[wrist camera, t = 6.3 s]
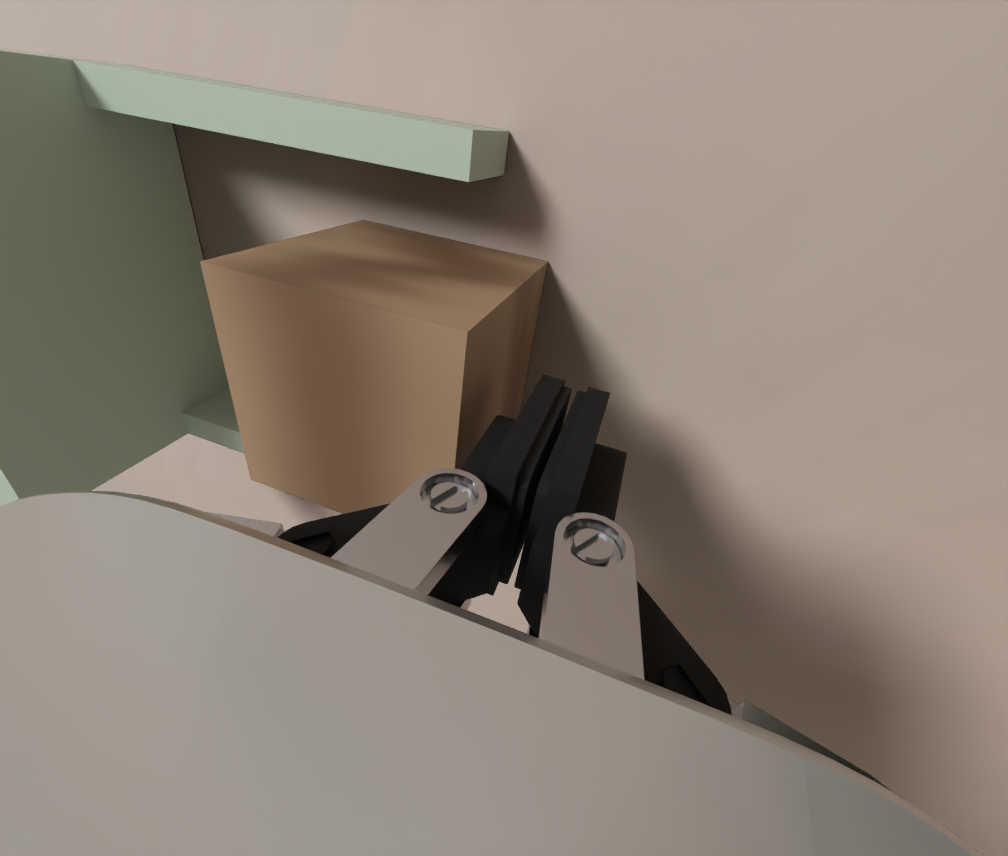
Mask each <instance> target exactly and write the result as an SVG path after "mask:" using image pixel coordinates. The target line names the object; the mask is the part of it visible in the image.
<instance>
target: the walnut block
mask: <svg viewBox="0 0 1008 856" xmlns="http://www.w3.org/2000/svg"><path fill="white" fill-rule="evenodd" d="M547 263H548V262H547V261H543V260H538V259H534V258H530V257H525V256H521V255H516V254H512V253H507V252H503V251H498V250H494V249H490V248H485V247H481V246H476V245H472V244H467V243H463V242H458V241H454V240H450V239H445V238H441V237H436V236H432V235H427V234H423V233H419V232H414V231H410V230H405V229H401V228H396V227H392V226H387V225H383V224H379V223H374V222H370V221H365V220H361V221H357V222H353V223H349V224H345V225H342V226H338V227H334V228H330V229H326V230H322V231H318V232H314V233H310V234H306V235H302V236H298V237H294V238H290V239H286V240H282V241H278V242H274V243H270V244H266V245H262V246H258V247H255V248H251V249H247V250H243V251H239V252H235V253H231V254H227V255H223V256H219V257H215V258H211V259H207V260H203V261H200V264H201V268H202V272H203V277H204V281H205V285H206V289H207V294H208V298H209V302H210V307H211V311H212V315H213V319H214V324H215V328H216V332H217V337H218V341H219V345H220V349H221V354H222V358H223V362H224V367H225V371H226V375H227V379H228V384H229V388H230V392H231V397H232V401H233V405H234V409H235V414H236V418H237V422H238V427H239V431H240V435H241V439H242V444H243V448H244V452H245V457H246V461H247V465H248V469H249V474H250V478H251V480H253V481H256V482H259V483H261V484H264V485H267V486H270V487H272V488H275V489H278V490H280V491H283V492H286V493H289V494H291V495H294V496H297V497H299V498H302V499H305V500H308V501H310V502H313V503H316V504H318V505H321V506H324V507H327V508H329V509H332V510H335V511H337V512H340V513H343V514H345V513H350V512H354V511H359V510H363V509H367V508H372V507H376V506H381V505H385V504H389V503H391V502H393V501H394V500H395V499H396V498H397V497H398V496H399V495H400V494H401V493H402V492H404V491H405V490H406V489H407V488H408V487H409V486H410V485H411V484H412V483H414V482H415V481H416V480H417V479H418V478H419V477H421V476H422V475H424V474H425V473H427V472H430V471H433V470H436V469H443V468H453V469H460V468H461V467H462V465H463V464H464V462H465V461H466V459H467V458H468V456H469V455H470V453H471V452H472V450H473V449H474V448H475V446H476V445H477V443H478V442H479V440H480V439H481V437H482V436H483V434H484V433H485V431H486V430H487V428H488V427H489V426H490V424H491V423H492V421H493V420H494V418H495V417H496V416H497V415H501V416H505V417H508V418H512V419H515V420H516V419H517V417H518V416H519V414H520V412H521V406H522V401H523V395H524V390H525V384H526V379H527V373H528V368H529V362H530V357H531V351H532V346H533V340H534V335H535V329H536V324H537V318H538V313H539V307H540V302H541V296H542V291H543V285H544V280H545V274H546V268H547Z"/></svg>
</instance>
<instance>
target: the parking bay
mask: <svg viewBox="0 0 1008 856" xmlns="http://www.w3.org/2000/svg"><path fill="white" fill-rule="evenodd" d="M172 123H173V124H178V125H183V126H189V127H194V128H199V129H204V130H209V131H214V132H219V133H224V134H229V135H234V136H239V137H244V138H249V139H254V140H259V141H264V142H269V143H274V144H279V145H284V146H289V147H294V148H299V149H304V150H309V151H314V152H319V153H324V154H329V155H334V156H339V157H345V158H350V159H355V160H360V161H365V162H370V163H375V164H380V165H385V166H390V167H395V168H400V169H405V170H410V171H415V172H420V173H425V174H430V175H435V176H440V177H445V178H450V179H455V180H460V181H465V182H472V181H477V180H482V179H487V178H492V177H497V176H502V175H504V171H505V162H506V154H507V145H508V137H509V131H504V130H499V129H493V128H487V127H481V126H475V125H470V124H464V123H458V122H452V121H447V120H441V119H435V118H429V117H423V116H418V115H412V114H406V113H400V112H394V111H389V110H383V109H377V108H371V107H365V106H360V105H354V104H348V103H342V102H336V101H331V100H325V99H319V98H313V97H308V96H302V95H296V94H290V93H284V92H279V91H273V90H267V89H261V88H255V87H250V86H244V85H238V84H232V83H226V82H221V81H215V80H209V79H203V78H198V77H192V76H186V75H180V74H174V73H169V72H163V71H157V70H151V69H145V68H140V67H134V66H128V65H122V64H115V63H107V62H99V61H92V60H84V59H76V58H68V57H61V56H53V55H45V54H38V53H30V52H22V51H15V50H7V49H0V506H2V505H5V504H7V503H10V502H13V501H16V500H18V499H21V498H25V497H29V496H34V495H38V494H44V493H53V492H64V491H91V490H93V489H95V488H96V487H98V486H100V485H102V484H103V483H105V482H107V481H108V480H110V479H112V478H113V477H115V476H117V475H118V474H120V473H122V472H124V471H125V470H127V469H129V468H130V467H132V466H134V465H135V464H137V463H139V462H140V461H142V460H144V459H146V458H147V457H149V456H151V455H152V454H154V453H156V452H157V451H159V450H161V449H162V448H164V447H166V446H168V445H169V444H171V443H173V442H174V441H176V440H178V439H179V438H181V437H183V436H184V435H186V434H188V433H189V434H192V435H194V436H197V437H200V438H203V439H206V440H208V441H211V442H214V443H217V444H220V445H222V446H225V447H228V448H231V449H234V450H236V451H239V452H242V453H245V452H244V448H243V444H242V439H241V435H240V431H239V427H238V422H237V418H236V414H235V409H234V405H233V401H232V397H231V392H230V388H229V384H228V379H227V375H226V371H225V367H224V362H223V358H222V354H221V349H220V345H219V341H218V337H217V332H216V328H215V324H214V319H213V315H212V311H211V307H210V302H209V298H208V294H207V289H206V285H205V281H204V277H203V272H202V268H201V264H200V261H203V256H202V252H201V247H200V243H199V238H198V234H197V230H196V225H195V221H194V216H193V212H192V208H191V203H190V199H189V194H188V190H187V186H186V181H185V177H184V172H183V168H182V164H181V159H180V155H179V150H178V146H177V142H176V137H175V133H174V128H173V124H172Z"/></svg>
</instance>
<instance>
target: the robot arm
mask: <svg viewBox="0 0 1008 856" xmlns="http://www.w3.org/2000/svg"><path fill="white" fill-rule="evenodd" d="M564 384H565V381H564V380H560V379H557V378H553V377H550V376H546V375H543V376H542V377H541V379H540V381H539V382H538V384H537V386H536V387H535V389H534V391H533V392H532V394H531V396H530V397H529V399H528V401H527V402H526V404H525V406H524V407H523V409H522V411H521V412H520V414H519V416H518V417H517V419H516V420H515V419H512V418H508V417H505V416H501V415H497V416H496V417H495V418H494V420H493V421H492V423H491V424H490V426H489V427H488V428H487V430H486V431H485V433H484V434H483V436H482V437H481V439H480V440H479V442H478V443H477V445H476V446H475V448H474V449H473V450H472V452H471V453H470V455H469V456H468V458H467V459H466V461H465V462H464V464H463V465H462V467H461V468H460V469H453V468H443V469H436V470H433V471H430V472H427V473H425V474H424V475H422V476H421V477H419V478H418V479H417V480H416V481H415V482H414V483H412V484H411V485H410V486H409V487H408V488H407V489H406V490H405V491H404V492H402V493H401V494H400V495H399V496H398V497H397V498H396V499H395V500H394V501H393V502H391V503H389V504H385V505H381V506H376V507H372V508H367V509H363V510H359V511H354V512H350V513H345V514H341V515H337V516H332V517H328V518H323V519H319V520H315V521H310V522H306V523H303V524H300V525H297V526H294V527H292V528H290V529H288V530H283V526H282V524H281V523H275V522H268V521H262V520H255V519H249V518H242V517H236V516H229V515H223V514H216V513H210V512H203V511H200V510H197V509H194V508H191V507H187V506H184V505H181V504H178V503H174V502H169V501H165V500H161V499H157V498H152V497H147V496H141V495H134V494H126V493H120V492H108V491H64V492H53V493H44V494H38V495H34V496H29V497H25V498H21V499H18V500H16V501H13V502H10V503H7V504H5V505H2V506H0V856H984V855H982V854H981V853H980V852H978V851H977V850H976V849H974V848H973V847H972V846H970V845H969V844H968V843H966V842H965V841H964V840H962V839H961V838H959V837H958V836H957V835H955V834H954V833H953V832H951V831H950V830H949V829H947V828H946V827H945V826H943V825H942V824H941V823H939V822H938V821H937V820H935V819H934V818H933V817H931V816H930V815H928V814H927V813H925V812H924V811H922V810H920V809H919V808H917V807H916V806H914V805H912V804H911V803H909V802H908V801H906V800H904V799H903V798H901V797H900V796H898V795H896V794H895V793H893V792H892V791H891V790H889V789H888V788H887V787H885V786H884V785H883V784H881V783H880V782H879V781H878V780H876V779H875V778H874V777H872V776H871V775H869V774H868V773H866V772H864V771H863V770H861V769H859V768H858V767H856V766H854V765H853V764H851V763H849V762H847V761H846V760H844V759H842V758H841V757H839V756H837V755H836V754H834V753H832V752H831V751H829V750H827V749H826V748H824V747H822V746H821V745H819V744H817V743H816V742H814V741H812V740H811V739H809V738H807V737H806V736H804V735H802V734H801V733H799V732H797V731H796V730H794V729H792V728H791V727H789V726H787V725H786V724H784V723H782V722H781V721H779V720H777V719H776V718H774V717H772V716H771V715H769V714H767V713H766V712H764V711H762V710H761V709H759V708H757V707H756V706H754V705H752V704H751V703H749V702H747V701H746V700H744V701H743V702H742V704H741V705H739V704H738V703H736V702H734V701H733V700H731V699H729V698H728V697H727V695H726V692H725V690H724V689H723V687H722V686H721V684H720V683H719V681H718V680H717V678H716V677H715V675H714V674H713V673H712V672H711V670H710V669H709V668H708V667H707V666H706V664H705V663H704V662H703V661H702V659H701V658H700V657H699V656H698V655H697V653H696V652H695V651H694V650H693V648H692V647H691V646H690V645H689V644H688V642H687V641H686V640H685V639H684V637H683V636H682V635H681V634H680V632H679V631H678V630H677V629H676V628H675V626H674V625H673V624H672V623H671V621H670V620H669V619H668V618H667V617H666V615H665V614H664V613H663V612H662V610H661V609H660V608H659V607H658V606H657V604H656V603H655V602H654V601H653V599H652V598H651V597H650V596H649V595H648V593H647V592H646V591H645V590H644V588H643V587H642V586H641V585H640V583H639V582H638V581H637V579H636V566H635V553H634V547H633V544H632V540H631V539H630V537H629V536H628V534H627V533H626V531H625V530H624V529H622V528H621V527H620V526H619V525H618V524H617V523H615V522H614V519H615V514H616V508H617V503H618V498H619V492H620V487H621V482H622V476H623V471H624V466H625V460H626V452H623V451H619V450H616V449H613V448H609V447H606V446H602V445H599V444H596V443H595V442H596V439H597V435H598V432H599V429H600V425H601V422H602V419H603V415H604V412H605V409H606V405H607V402H608V398H609V395H610V393H608V392H604V391H601V390H597V389H593V388H590V387H588V389H587V391H586V392H582V391H579V390H578V392H577V394H576V396H575V399H574V401H573V403H572V406H571V408H570V410H569V413H568V415H567V417H566V420H565V422H564V418H565V414H566V410H567V406H568V402H569V398H570V394H571V388H568V387H564ZM563 422H564V424H563ZM562 426H563V427H562ZM524 542H525V543H524ZM523 544H524V547H523ZM522 547H523V551H522V556H521V560H520V564H519V568H518V573H517V577H516V581H515V586H514V587H516V588H518V589H521V591H520V595H519V599H518V603H517V604H518V606H519V607H520V609H521V611H522V613H523V614H524V616H525V618H526V620H527V622H528V623H529V627H528V630H527V634H526V633H524V632H521V631H518V630H516V629H513V628H511V627H508V626H506V625H503V624H500V623H498V622H495V621H493V620H490V619H488V618H485V617H482V616H480V615H477V614H475V613H472V612H470V611H467V610H468V608H469V606H470V603H471V598H474V597H477V596H480V595H483V594H486V593H488V594H490V595H494V592H495V590H496V587H497V585H498V583H499V582H502V583H505V584H508V582H509V579H510V577H511V574H512V572H513V569H514V567H515V564H516V562H517V559H518V557H519V554H520V552H521V549H522Z"/></svg>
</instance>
